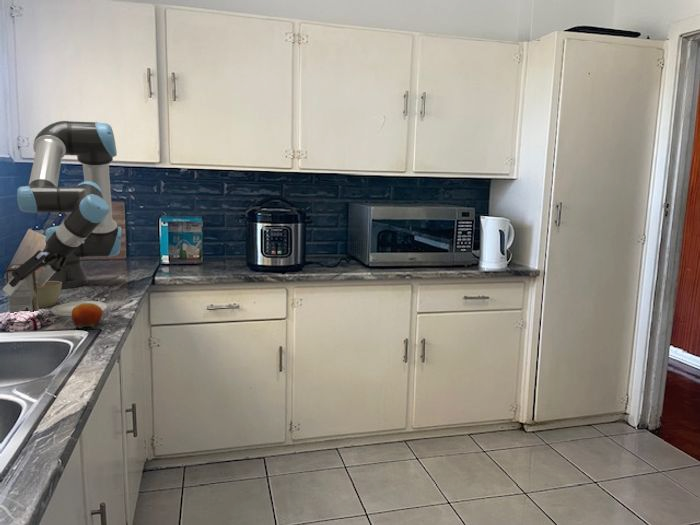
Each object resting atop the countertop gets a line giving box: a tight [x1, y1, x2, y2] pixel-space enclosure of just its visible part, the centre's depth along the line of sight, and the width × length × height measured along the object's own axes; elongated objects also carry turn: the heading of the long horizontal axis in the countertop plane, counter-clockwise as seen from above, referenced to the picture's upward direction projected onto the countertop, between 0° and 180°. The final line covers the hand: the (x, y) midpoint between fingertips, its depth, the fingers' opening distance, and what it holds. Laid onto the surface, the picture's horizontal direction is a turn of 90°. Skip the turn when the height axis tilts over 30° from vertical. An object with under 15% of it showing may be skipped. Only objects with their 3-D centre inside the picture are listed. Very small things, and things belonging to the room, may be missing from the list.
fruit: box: [71, 303, 103, 329], centre depth 157 cm, size 8×8×8 cm
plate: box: [51, 300, 108, 318], centre depth 175 cm, size 16×16×1 cm
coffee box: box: [5, 263, 39, 314], centre depth 164 cm, size 9×6×16 cm
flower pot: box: [36, 281, 62, 308], centre depth 181 cm, size 10×10×7 cm
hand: (23, 287), depth 162 cm, fingers open, 13 cm apart
